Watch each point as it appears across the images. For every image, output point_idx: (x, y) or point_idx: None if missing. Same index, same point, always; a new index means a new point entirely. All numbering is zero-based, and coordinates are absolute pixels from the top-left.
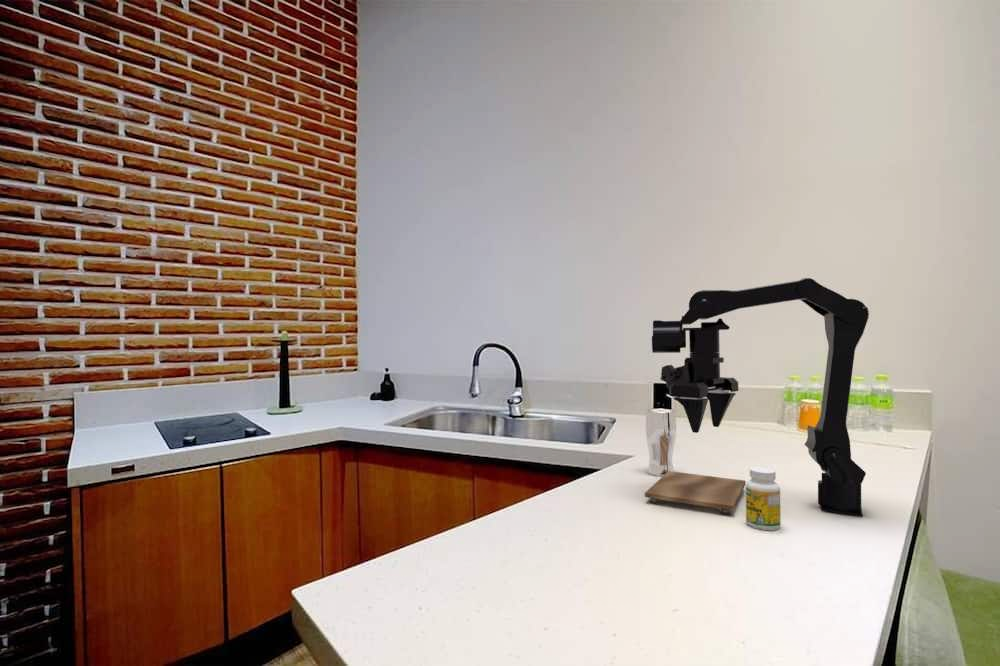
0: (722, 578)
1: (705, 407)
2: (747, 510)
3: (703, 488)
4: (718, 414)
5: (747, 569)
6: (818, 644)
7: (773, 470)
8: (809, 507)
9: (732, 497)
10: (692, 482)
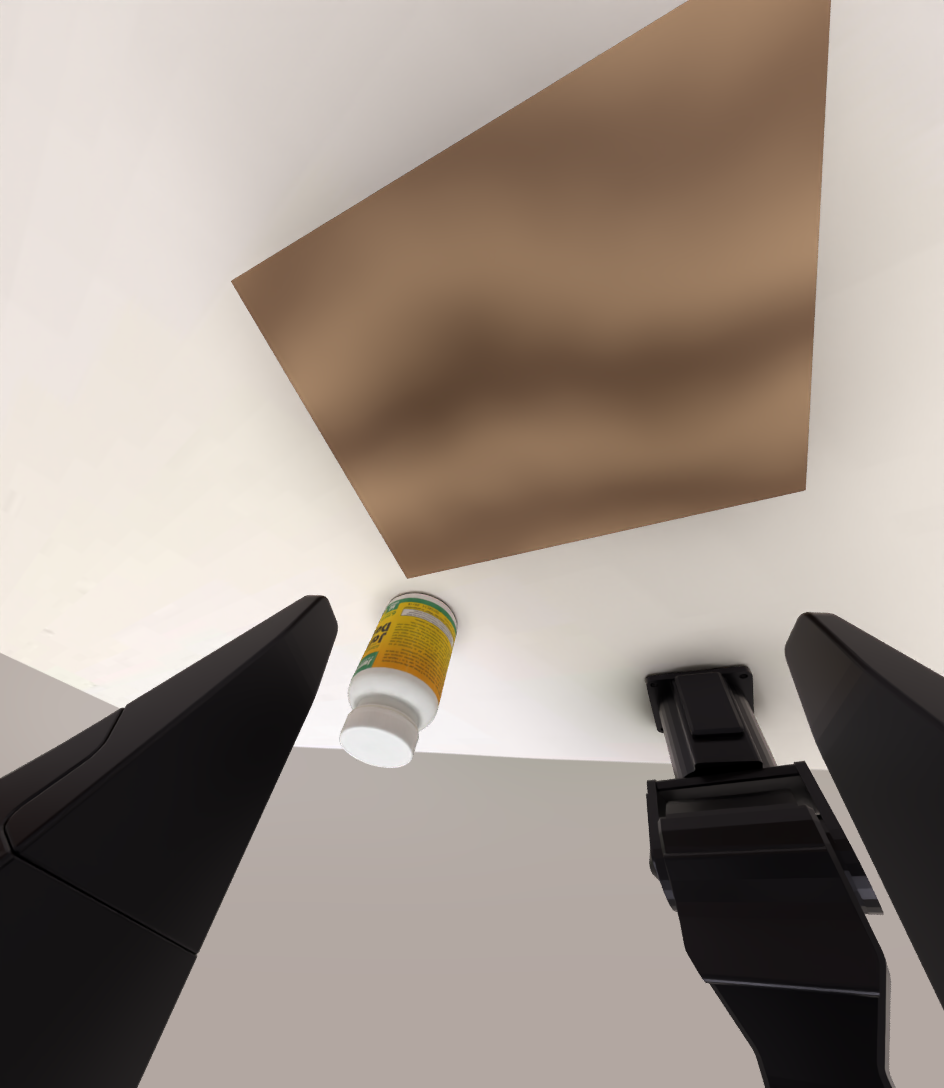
0: (159, 639)
1: (180, 967)
2: (379, 624)
3: (519, 425)
4: (889, 810)
5: None
6: None
7: (400, 764)
8: (668, 652)
9: (488, 548)
10: (585, 327)
